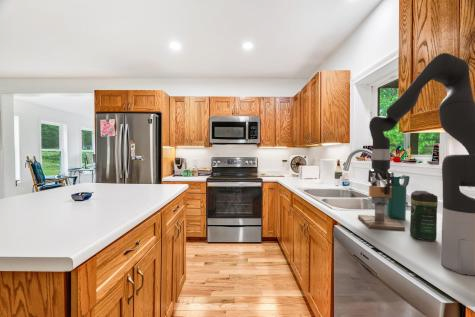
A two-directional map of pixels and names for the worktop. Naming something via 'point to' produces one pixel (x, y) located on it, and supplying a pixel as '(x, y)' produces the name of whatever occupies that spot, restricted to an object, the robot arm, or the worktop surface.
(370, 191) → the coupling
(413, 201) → the coffee jar
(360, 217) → the stand
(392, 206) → the square teal bottle
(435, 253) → the worktop surface
